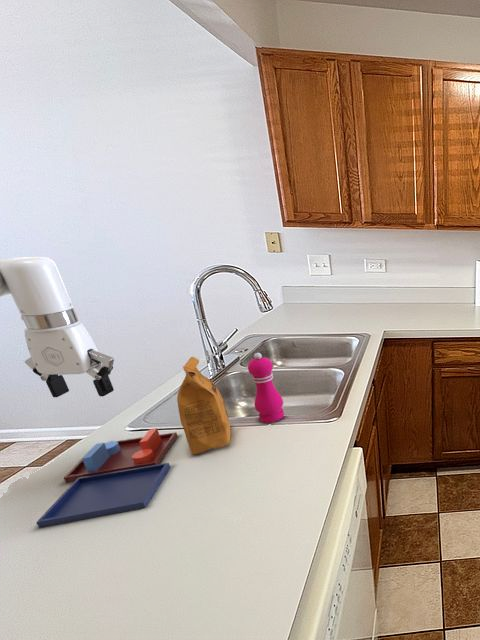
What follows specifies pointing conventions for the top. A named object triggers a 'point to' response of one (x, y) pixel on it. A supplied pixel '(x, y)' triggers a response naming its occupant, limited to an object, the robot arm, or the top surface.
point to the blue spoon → (100, 455)
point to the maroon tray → (124, 458)
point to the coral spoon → (147, 447)
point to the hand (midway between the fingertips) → (84, 394)
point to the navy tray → (105, 494)
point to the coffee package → (202, 411)
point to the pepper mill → (265, 390)
